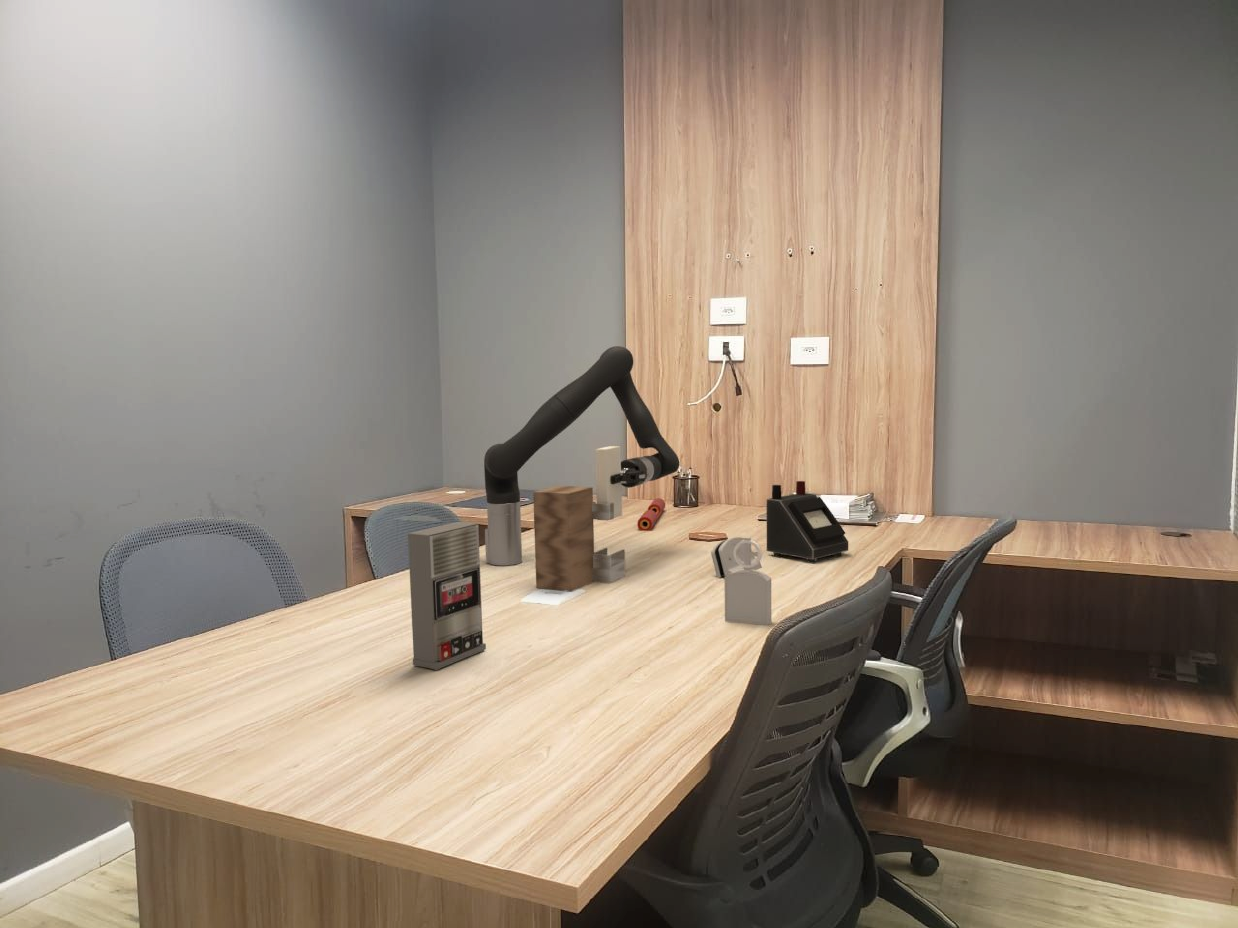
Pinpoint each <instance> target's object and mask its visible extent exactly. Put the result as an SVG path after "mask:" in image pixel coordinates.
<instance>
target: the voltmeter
mask: <svg viewBox="0 0 1238 928" xmlns="http://www.w3.org/2000/svg"><path fill="white" fill-rule="evenodd" d="M795 486H796V487H795V493H794V494H787V495H783V496H782V485H780V484H772V488H771V489H772V490H771V497H769V498H766V503H765V504H766V508H765V509H766V552H771V553H773V557H781V556H782V555H786V556H787V555H788V556H793V557H798V558H803V559H804V558H805V559H806V560H807V562H808V563H811V564H813V563H816V562H817V559H819V558H823V557H828V556H831V555H833V556H834V557H841V556H842V553H844V552H847V551H849V540H848V539H847V537H846V536H845V534H846V531H845V529H843V527H842V526H841V524H840V523H839V521H838V519H837V518H836V517H835V515H834V514H833V513H832V511H831V510H830V509H829V507H828V506H827V505H826V503H825V502H824V500H823V499H822V498H821V496H817V494H815V493H806V481H805V480H804V481H803V480H797V481H796V485H795Z"/></svg>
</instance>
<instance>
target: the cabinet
mask: <svg viewBox="0 0 1238 928" xmlns="http://www.w3.org/2000/svg"><path fill="white" fill-rule="evenodd" d="M593 491H594V489H593V487H592V486H589V487H588V486H569V485H555V486H552V487H548V488H544V489H539V490H536V491H533V492H532V496H533V500H532V501H533V522H534V525H533V527H534V528H533V529H534V553H535V554H534V557H535V559H534V560H535V588H536V589H544V590H545V589H546V590H551V591H561V590H567V591H566V592H574V591H576V590H577V589H580V588H582V587H585V586H586V585H589V584H591V583H593V582H594V583H596V582H597V583H605V584H607V583H608V584H612V583H614V582H616V581H618V580H620V579H622V578H625V577H626V555H625V554H626V553H625V549H620V550H618V551H616V552H614V553H611V554H608V547H607V548H606V547H605V548H602V549H599V550H597V551H595V538H594V537H595V535H594V534H595V533H594V532H595V531H594V529H595V528H594V527H595V526H594V520H597V521H606V520H608V521H611V520H614V519H615V518H614V503H609V504H599V503H597V501H594V495H593V494H594V492H593Z"/></svg>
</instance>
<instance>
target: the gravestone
mask: <svg viewBox="0 0 1238 928" xmlns="http://www.w3.org/2000/svg"><path fill="white" fill-rule="evenodd" d="M743 538H744V540H742V541H740V542H739V543H738V544H737V545H736V546H735V548H734V553H733V554H734V558H735V560H736V562H737V563H738V564H739V565H740V566H742V567H744V569H740V570H736V571H734V572H732V573H730V574H729V575H727V576H723V578H724V581H723V582H724V622H732V621H733V623H743V624H751V623H752V625H753V624H754V625H761V624H765V625H764V626H769V625H770V624H771V623H772V577H770V575H768V574H767V573H765V572H763V571H760V570H758V569H757V570H753V569H751V567H753V566H755V565H757V564H758V563H759V562H760V563H761V560H762V557H763V556H762V555H763V552H762V551H763V550H762V549H761V546H760V545H759V543H757V541H754V540H752V537H751V536H749V537H748V536H745V537H743ZM743 543H744V551H738V548H739V546H740V545H741V544H743ZM752 546H753V547H754V548H755V550H756V551H754V550H752V551H751V549H752ZM738 555H741V556H744V562H742V561H741V560H740V559H739V557H738ZM751 556H754V557H755V558H756V559H757V560H756V561H755V563H753V564H751Z"/></svg>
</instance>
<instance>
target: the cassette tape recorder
mask: <svg viewBox="0 0 1238 928" xmlns="http://www.w3.org/2000/svg"><path fill="white" fill-rule="evenodd" d="M479 528H480V527H479V523H475V522H464V521H456V522H451V523H447V524H443V525H439V526H433V527H429V528H426V529H425V528H424V529H420V530H416V531H411V532H408V533H407V539H408V541H407V542H408V544H407V545H408V563H409V583H410V585H409V586H410V588H409V589H410V603H411V604H410V607H411V627H412V628H411V630H412V631H411V632H412V649H413V650H412V651H413V652H412V653H413V654H412V655H413V658H412V666H416V667H421V668H425V669H426V668H427V669H431V670H433V671H440V669H442V668H444V667H446V666H449V665H452V664H454V663H456V662H458V661H461V660H464V659H467V658H469V657H470V656H474V655H475V654H478V653H480V652H481V653H482V652H484V651H485V650H487V645H486V644H487V643H484V641H483V613H482V611H483V610H482V588H481V586H482V585H481V560H480V559H481V557H480V533H479V532H480V531H479Z"/></svg>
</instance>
